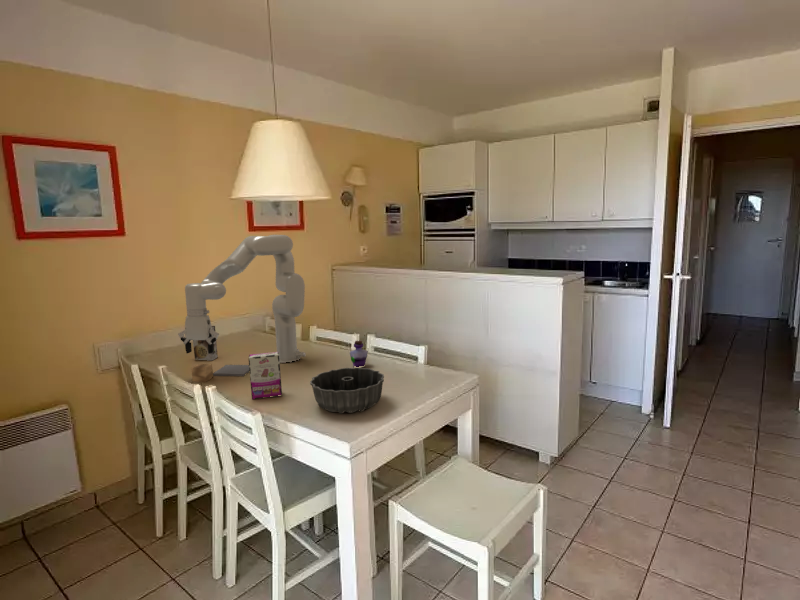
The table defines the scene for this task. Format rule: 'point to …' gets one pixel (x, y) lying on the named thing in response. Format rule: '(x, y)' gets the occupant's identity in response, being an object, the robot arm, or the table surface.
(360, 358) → the potion bottle
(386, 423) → the table surface
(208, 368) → the oak cube
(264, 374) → the candy bar box
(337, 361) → the table surface
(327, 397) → the bundt pan
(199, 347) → the coffee box
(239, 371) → the charcoal mat
